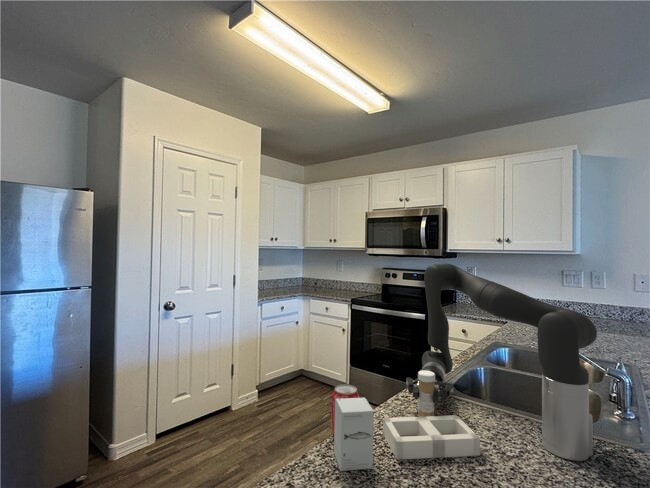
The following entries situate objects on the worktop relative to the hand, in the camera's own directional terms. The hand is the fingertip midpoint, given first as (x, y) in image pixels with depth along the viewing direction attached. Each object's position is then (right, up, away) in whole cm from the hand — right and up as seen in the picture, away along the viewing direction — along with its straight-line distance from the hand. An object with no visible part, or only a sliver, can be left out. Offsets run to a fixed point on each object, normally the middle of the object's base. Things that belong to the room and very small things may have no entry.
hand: (425, 397), depth 92 cm
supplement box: (-21, -7, -16) cm, 28 cm away
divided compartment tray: (-2, -7, -9) cm, 12 cm away
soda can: (-22, -7, -6) cm, 24 cm away
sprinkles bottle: (+1, -8, +2) cm, 8 cm away
